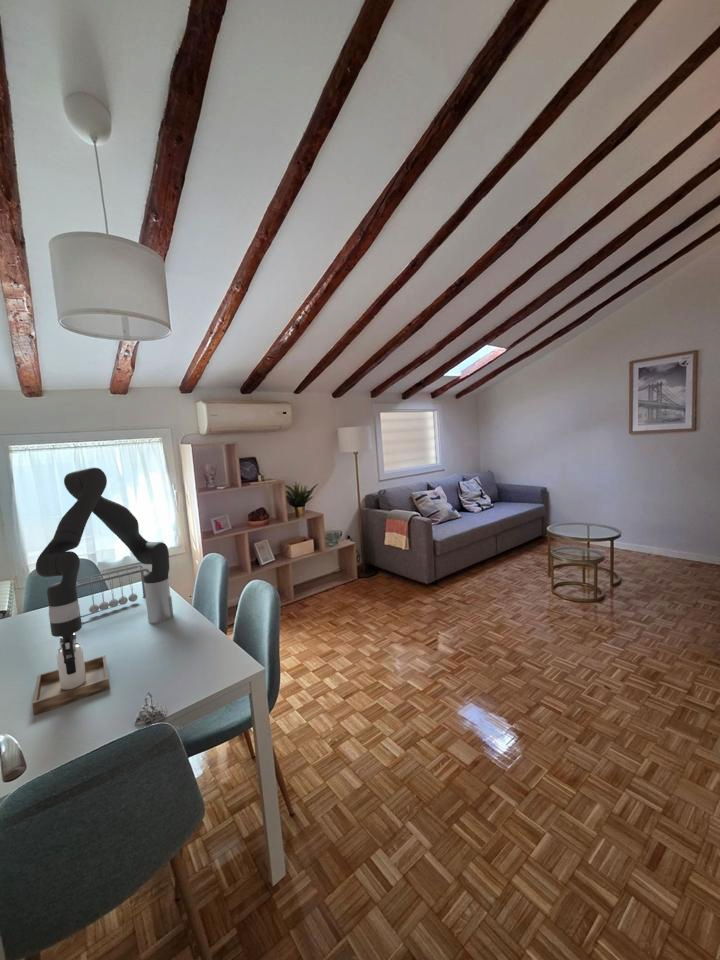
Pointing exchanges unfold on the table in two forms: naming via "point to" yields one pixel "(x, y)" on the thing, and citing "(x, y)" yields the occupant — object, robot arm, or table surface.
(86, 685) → the tray
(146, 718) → the grey jagged ornament
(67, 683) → the can
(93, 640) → the table surface
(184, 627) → the table surface
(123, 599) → the newton's cradle
